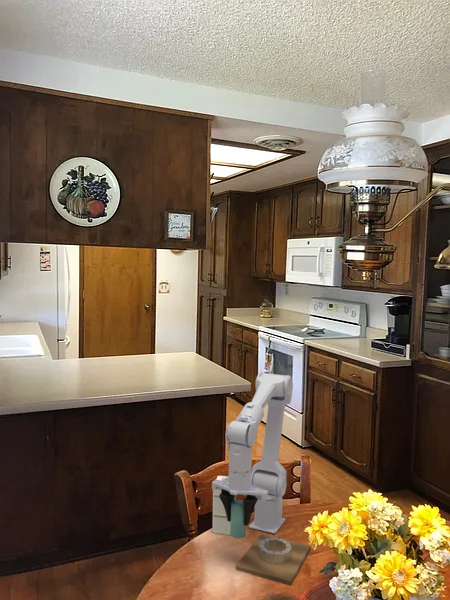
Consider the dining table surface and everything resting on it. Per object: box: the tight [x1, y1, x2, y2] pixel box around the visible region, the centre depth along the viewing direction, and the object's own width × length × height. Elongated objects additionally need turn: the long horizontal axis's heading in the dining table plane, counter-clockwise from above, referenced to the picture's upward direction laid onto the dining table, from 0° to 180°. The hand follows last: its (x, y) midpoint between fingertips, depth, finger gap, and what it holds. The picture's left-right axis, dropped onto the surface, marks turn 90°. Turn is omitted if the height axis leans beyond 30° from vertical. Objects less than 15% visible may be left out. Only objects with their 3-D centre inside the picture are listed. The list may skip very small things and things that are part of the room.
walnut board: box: [235, 533, 312, 586], centre depth 132 cm, size 18×14×1 cm
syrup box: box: [212, 475, 237, 536], centre depth 146 cm, size 6×6×14 cm
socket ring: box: [259, 537, 292, 564], centre depth 132 cm, size 8×8×2 cm
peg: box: [229, 499, 247, 539], centre depth 130 cm, size 4×4×8 cm
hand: (238, 521), depth 130 cm, fingers closed on peg, 4 cm apart
